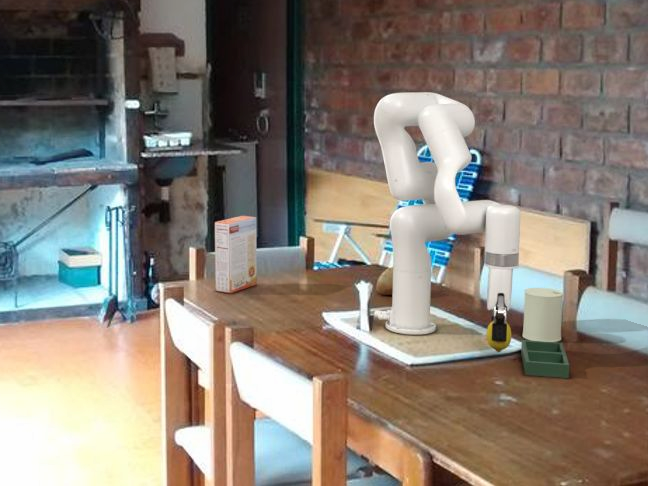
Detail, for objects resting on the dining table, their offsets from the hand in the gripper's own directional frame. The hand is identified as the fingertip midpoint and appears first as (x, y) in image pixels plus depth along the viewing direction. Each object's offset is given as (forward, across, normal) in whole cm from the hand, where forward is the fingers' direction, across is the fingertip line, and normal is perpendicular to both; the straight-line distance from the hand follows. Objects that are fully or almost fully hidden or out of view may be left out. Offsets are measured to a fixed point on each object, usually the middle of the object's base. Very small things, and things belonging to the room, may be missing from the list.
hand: (498, 336), depth 232 cm
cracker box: (+5, -53, -74) cm, 91 cm away
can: (+5, -21, +11) cm, 24 cm away
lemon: (+4, 0, 0) cm, 4 cm away
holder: (+5, +2, +10) cm, 11 cm away
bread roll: (+5, -59, -26) cm, 65 cm away
